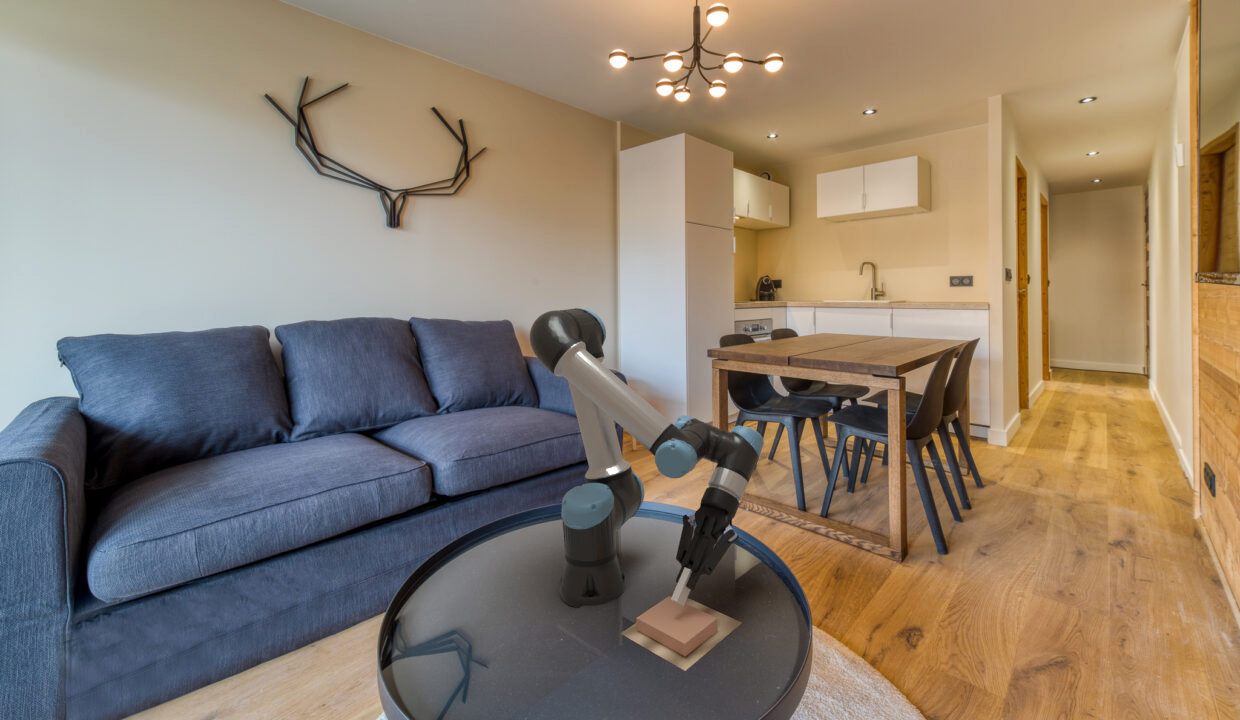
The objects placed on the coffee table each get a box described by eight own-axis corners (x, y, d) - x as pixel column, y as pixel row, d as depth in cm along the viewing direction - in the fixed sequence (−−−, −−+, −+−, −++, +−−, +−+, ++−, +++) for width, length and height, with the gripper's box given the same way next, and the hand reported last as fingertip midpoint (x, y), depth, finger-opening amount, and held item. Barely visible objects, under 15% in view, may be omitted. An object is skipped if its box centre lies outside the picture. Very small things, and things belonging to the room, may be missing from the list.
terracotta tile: (670, 608, 112) (637, 631, 105) (669, 595, 111) (636, 617, 104) (717, 631, 103) (685, 658, 96) (717, 618, 103) (684, 643, 96)
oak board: (620, 637, 105) (620, 633, 104) (679, 597, 117) (678, 594, 117) (685, 675, 93) (685, 670, 93) (742, 626, 106) (742, 622, 106)
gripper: (757, 509, 111) (713, 622, 101) (706, 495, 120) (661, 597, 110) (743, 492, 106) (695, 608, 97) (690, 479, 116) (642, 584, 106)
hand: (677, 602), depth 104 cm, fingers closed
